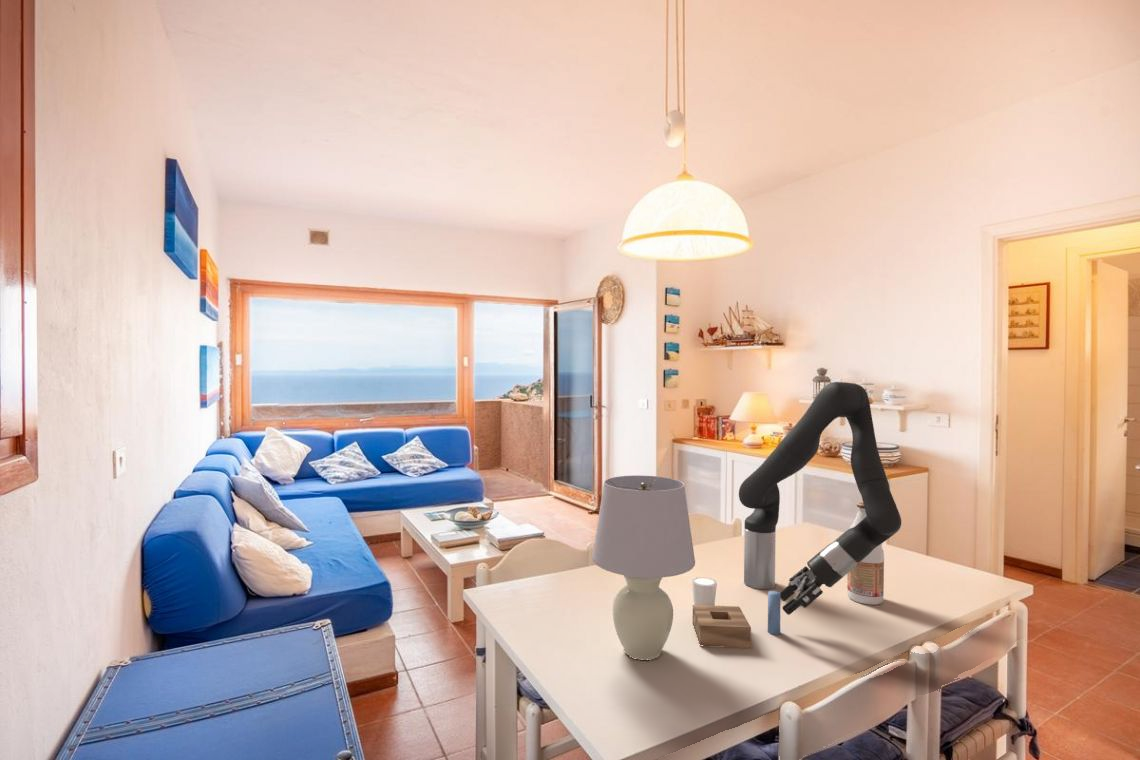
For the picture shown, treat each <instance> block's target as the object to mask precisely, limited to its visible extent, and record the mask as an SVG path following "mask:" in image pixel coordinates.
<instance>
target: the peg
mask: <svg viewBox="0 0 1140 760" xmlns="http://www.w3.org/2000/svg"><path fill="white" fill-rule="evenodd" d="M781 602H782V599H781V594H780V591H777V590H769V591H767V632H768V634H770V635H773V636H774V635H775V636H779V635H780V634H781Z"/></svg>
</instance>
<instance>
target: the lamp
mask: <svg viewBox="0 0 1140 760" xmlns="http://www.w3.org/2000/svg"><path fill="white" fill-rule="evenodd" d="M685 485H686V484H685V483H684V482H683V481H681V480H679V479H675V478H671V477H664V476H656V475H639V474H638V475H620V476H613V477H609V478H606V479H605V480H604V481H603V485H602V486H603V487H602V492H601V499H600V505H599V506H600V507H599V513H598V520H597V525H596V531H595V537H594V543H593V550H592V557H591V559H592V562H593V563H594V564H595V565H596V566H598V567H599V568H601V569H602V570H605V571H606V572H610V573H613V574H617V575H619V576H623V577H624V579H625V581H626V585H625V586H623V587H622V588H620V590H619V591H618V592H617V594H616V595H615V597H614V599H613V603H612V618H613V624H614V628H615V633H616V635H617V638H618V640H619V641H620V644H621V645H622V648H623V652H624V651H625V653H626V654H627V655H629V656H631V657H633V658H636V659H643V660H647V659H648V660H649V659H654V658H657V657H658V656H659V657H660V656H661V655H660V654H662V650H663V648H664V646H665V645H666V643H667V640H668V638H669V636H670V634H671V631H672V627H673V621H674V606H673V603H672V600H671V598H670V596H669V595H668V594H667V592H666V591H665V590H663V589H662V588H661V587H660V584H661V581H662V579H663V578H669V577H675V576H679V575H683V574H686V573H688V572H690V571H691V570H693V568H694V567H695V566H696V559H695V551H694V545H693V544H694V543H693V538H692V529H691V523H690V515H689V509H688V503H687V497H686V496H687V495H686V488H685ZM625 653H624V654H625ZM626 654H625V655H626ZM627 655H626V656H627ZM659 657H658V658H659ZM658 658H657V659H658ZM654 660H655V659H654Z"/></svg>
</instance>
